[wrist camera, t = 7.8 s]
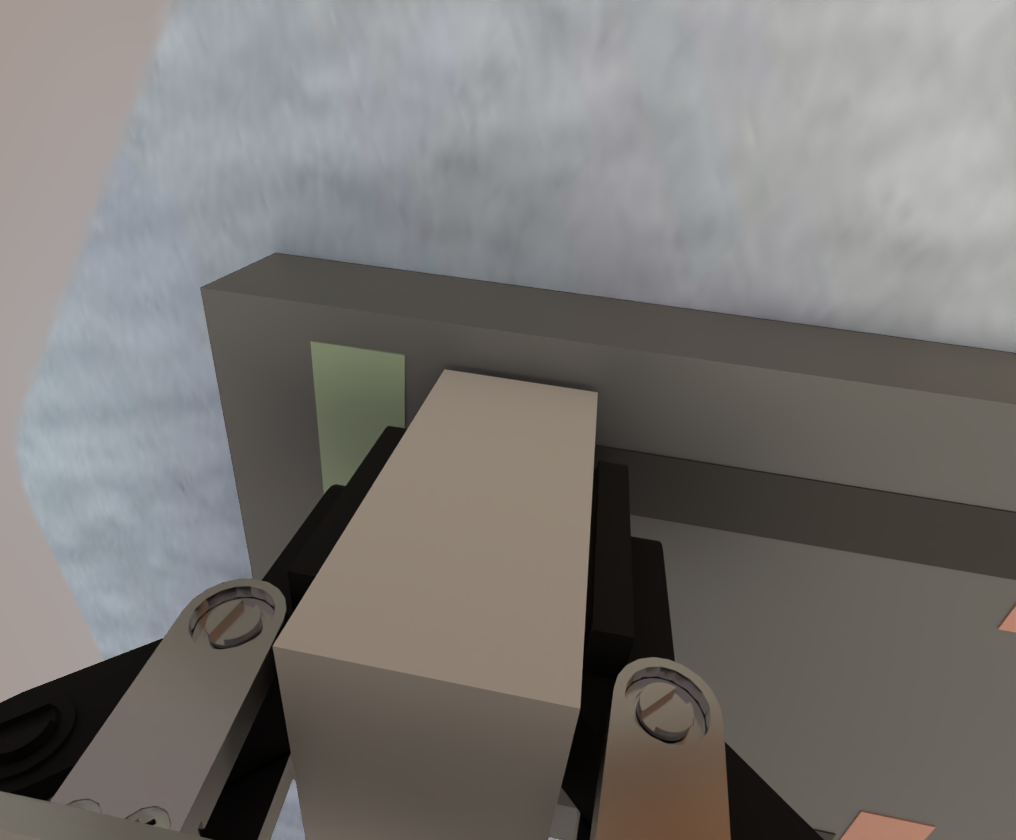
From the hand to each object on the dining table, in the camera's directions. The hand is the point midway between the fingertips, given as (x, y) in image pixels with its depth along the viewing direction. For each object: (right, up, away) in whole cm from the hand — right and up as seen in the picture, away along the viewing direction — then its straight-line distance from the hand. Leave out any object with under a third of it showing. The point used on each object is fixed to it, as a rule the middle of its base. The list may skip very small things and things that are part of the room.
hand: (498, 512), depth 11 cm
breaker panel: (+4, -4, +7) cm, 9 cm away
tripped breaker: (0, +1, +1) cm, 1 cm away
